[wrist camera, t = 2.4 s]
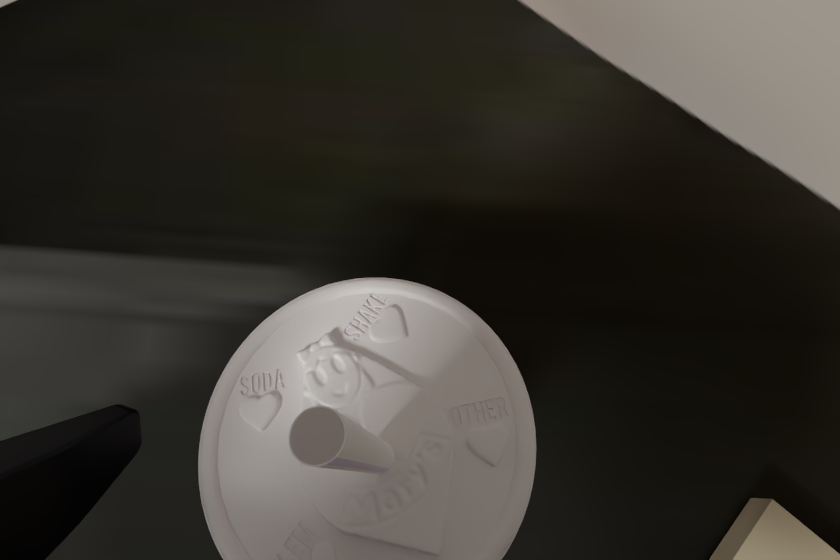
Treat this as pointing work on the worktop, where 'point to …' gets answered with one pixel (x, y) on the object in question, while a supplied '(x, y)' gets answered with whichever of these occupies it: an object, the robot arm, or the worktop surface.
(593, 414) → the worktop surface
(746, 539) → the cutting board
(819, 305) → the worktop surface
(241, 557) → the smoothie
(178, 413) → the worktop surface
